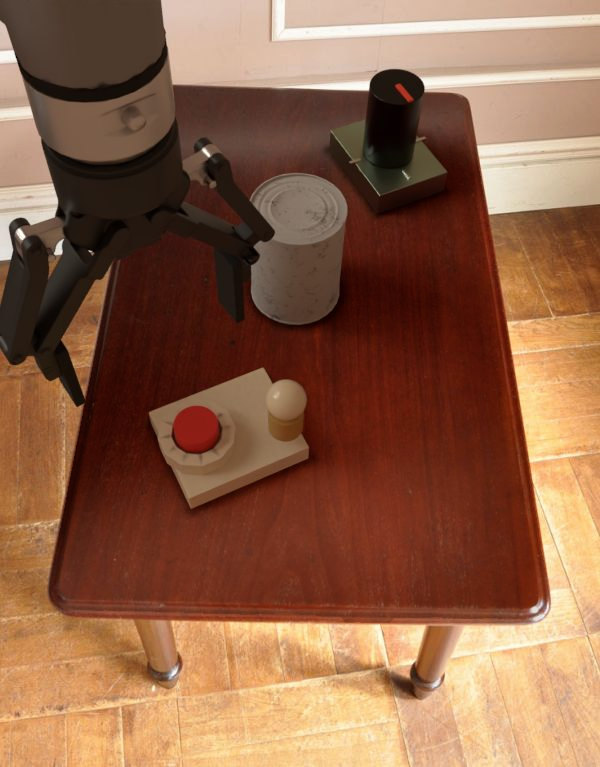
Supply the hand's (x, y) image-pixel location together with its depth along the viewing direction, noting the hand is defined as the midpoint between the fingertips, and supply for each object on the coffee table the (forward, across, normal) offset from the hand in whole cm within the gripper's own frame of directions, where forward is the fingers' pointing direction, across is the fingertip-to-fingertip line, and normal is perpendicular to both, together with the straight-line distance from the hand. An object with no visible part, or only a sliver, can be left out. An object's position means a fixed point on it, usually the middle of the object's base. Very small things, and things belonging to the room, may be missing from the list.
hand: (155, 350), depth 65 cm
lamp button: (+15, +2, 0) cm, 15 cm away
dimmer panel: (+19, +41, +21) cm, 50 cm away
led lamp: (+15, +9, -4) cm, 18 cm away
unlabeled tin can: (+19, +21, +12) cm, 31 cm away
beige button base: (+19, +5, 0) cm, 20 cm away
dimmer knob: (+16, +41, +21) cm, 48 cm away
